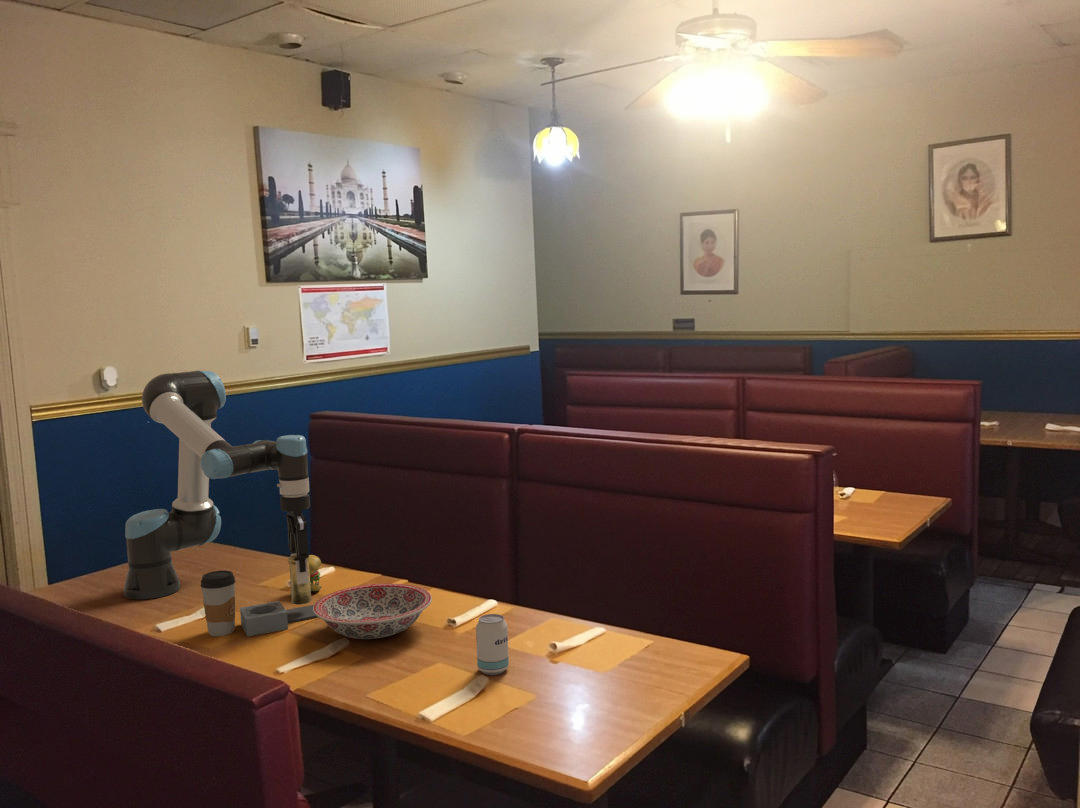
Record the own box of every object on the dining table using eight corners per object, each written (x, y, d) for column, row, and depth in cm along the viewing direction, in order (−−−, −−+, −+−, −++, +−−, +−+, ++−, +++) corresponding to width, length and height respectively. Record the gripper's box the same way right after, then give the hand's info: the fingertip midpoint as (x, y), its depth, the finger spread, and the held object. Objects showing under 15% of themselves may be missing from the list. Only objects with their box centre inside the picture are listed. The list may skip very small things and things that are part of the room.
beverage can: (497, 679, 192) (495, 625, 190) (471, 673, 195) (469, 620, 194) (514, 668, 197) (513, 615, 196) (489, 662, 201) (487, 611, 200)
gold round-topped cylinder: (288, 600, 237) (285, 556, 236) (309, 596, 240) (307, 553, 239) (293, 606, 232) (290, 561, 231) (314, 602, 235) (311, 558, 234)
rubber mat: (281, 612, 238) (281, 610, 238) (315, 606, 243) (315, 604, 242) (288, 622, 231) (288, 620, 230) (323, 616, 235) (322, 614, 234)
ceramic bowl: (454, 620, 229) (453, 590, 228) (389, 662, 203) (388, 628, 202) (361, 607, 241) (360, 578, 240) (289, 645, 215) (287, 613, 214)
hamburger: (328, 590, 256) (326, 550, 255) (309, 598, 250) (307, 556, 249) (309, 586, 260) (307, 547, 259) (290, 594, 254) (288, 553, 253)
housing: (241, 624, 230) (239, 607, 230) (280, 617, 235) (279, 600, 234) (247, 636, 222) (246, 619, 221) (288, 628, 226) (286, 611, 226)
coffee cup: (227, 638, 220) (223, 580, 219) (197, 637, 222) (193, 579, 220) (245, 626, 229) (241, 570, 227) (215, 625, 230) (211, 569, 229)
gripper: (273, 490, 239) (278, 573, 242) (287, 502, 223) (293, 592, 226) (301, 486, 243) (306, 569, 245) (317, 498, 226) (322, 587, 229)
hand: (300, 580), depth 235 cm, fingers closed on gold round-topped cylinder, 6 cm apart
